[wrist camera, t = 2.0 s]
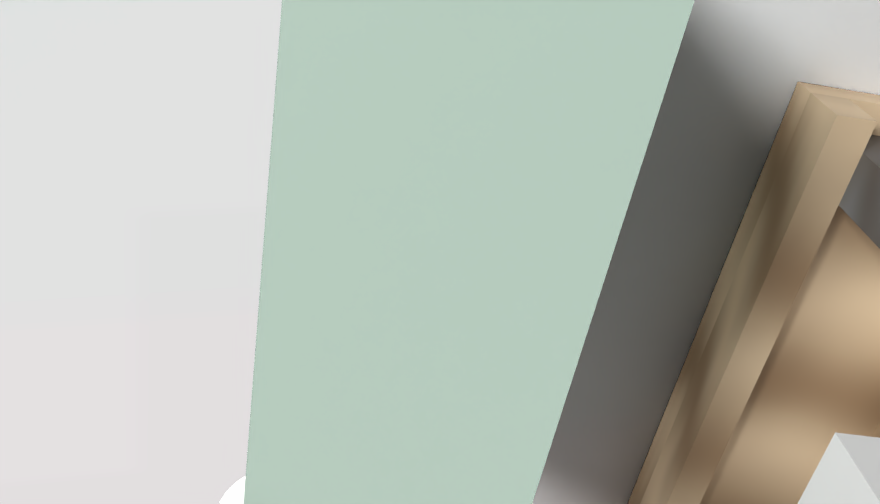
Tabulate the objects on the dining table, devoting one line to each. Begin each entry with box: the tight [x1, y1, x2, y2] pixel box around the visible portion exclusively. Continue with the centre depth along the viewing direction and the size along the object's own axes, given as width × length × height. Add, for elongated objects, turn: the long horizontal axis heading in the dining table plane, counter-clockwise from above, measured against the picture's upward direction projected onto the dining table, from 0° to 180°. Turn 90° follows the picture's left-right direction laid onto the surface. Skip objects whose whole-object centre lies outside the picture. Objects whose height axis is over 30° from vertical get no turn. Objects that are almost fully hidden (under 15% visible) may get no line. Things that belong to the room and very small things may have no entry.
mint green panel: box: [244, 0, 695, 504], centre depth 17 cm, size 14×4×12 cm, turn 170°
